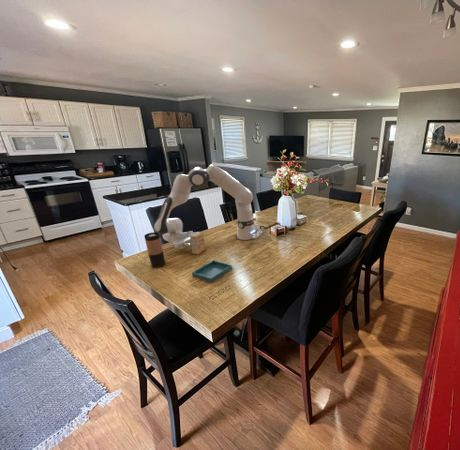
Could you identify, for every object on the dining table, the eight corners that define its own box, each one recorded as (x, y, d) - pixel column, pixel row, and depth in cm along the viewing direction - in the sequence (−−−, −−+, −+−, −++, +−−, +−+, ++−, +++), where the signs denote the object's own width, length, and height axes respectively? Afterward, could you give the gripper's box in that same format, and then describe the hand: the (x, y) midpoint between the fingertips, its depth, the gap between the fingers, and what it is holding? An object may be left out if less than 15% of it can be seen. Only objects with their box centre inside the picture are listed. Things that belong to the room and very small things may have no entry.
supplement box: (198, 254, 158) (196, 236, 153) (192, 254, 159) (189, 236, 154) (205, 249, 166) (203, 232, 161) (199, 248, 166) (197, 231, 162)
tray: (213, 263, 147) (213, 260, 146) (232, 268, 141) (231, 265, 140) (192, 276, 133) (192, 272, 132) (211, 282, 128) (211, 278, 127)
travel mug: (149, 265, 145) (142, 234, 138) (163, 260, 150) (156, 231, 143) (153, 269, 140) (146, 238, 133) (167, 264, 145) (161, 234, 138)
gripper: (167, 240, 156) (182, 244, 151) (193, 230, 174) (207, 233, 168) (169, 248, 159) (184, 253, 153) (194, 238, 176) (208, 241, 170)
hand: (196, 242), depth 161 cm, fingers open, 8 cm apart
